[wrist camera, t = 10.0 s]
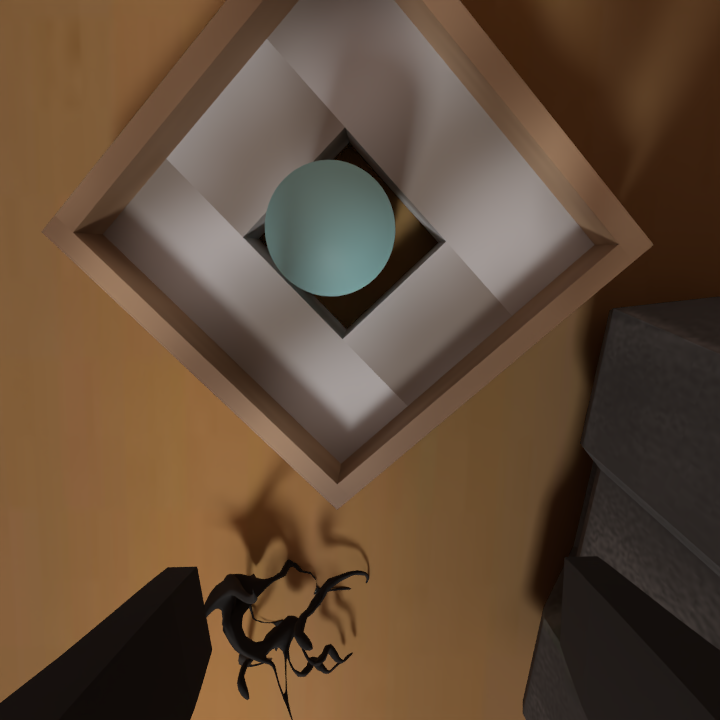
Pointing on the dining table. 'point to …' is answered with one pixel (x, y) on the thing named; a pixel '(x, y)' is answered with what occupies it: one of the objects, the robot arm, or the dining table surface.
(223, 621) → the creature
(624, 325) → the dark faceted flask
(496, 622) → the dining table surface
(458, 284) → the box
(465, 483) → the dining table surface
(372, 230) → the peg
